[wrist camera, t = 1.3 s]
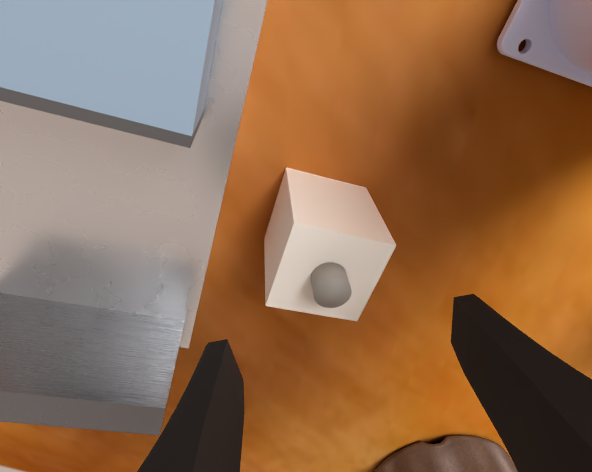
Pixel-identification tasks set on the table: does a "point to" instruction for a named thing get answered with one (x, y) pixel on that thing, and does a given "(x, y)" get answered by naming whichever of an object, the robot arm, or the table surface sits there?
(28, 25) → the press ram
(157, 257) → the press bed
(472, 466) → the plant pot
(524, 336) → the robot arm
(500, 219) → the table surface
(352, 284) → the block
